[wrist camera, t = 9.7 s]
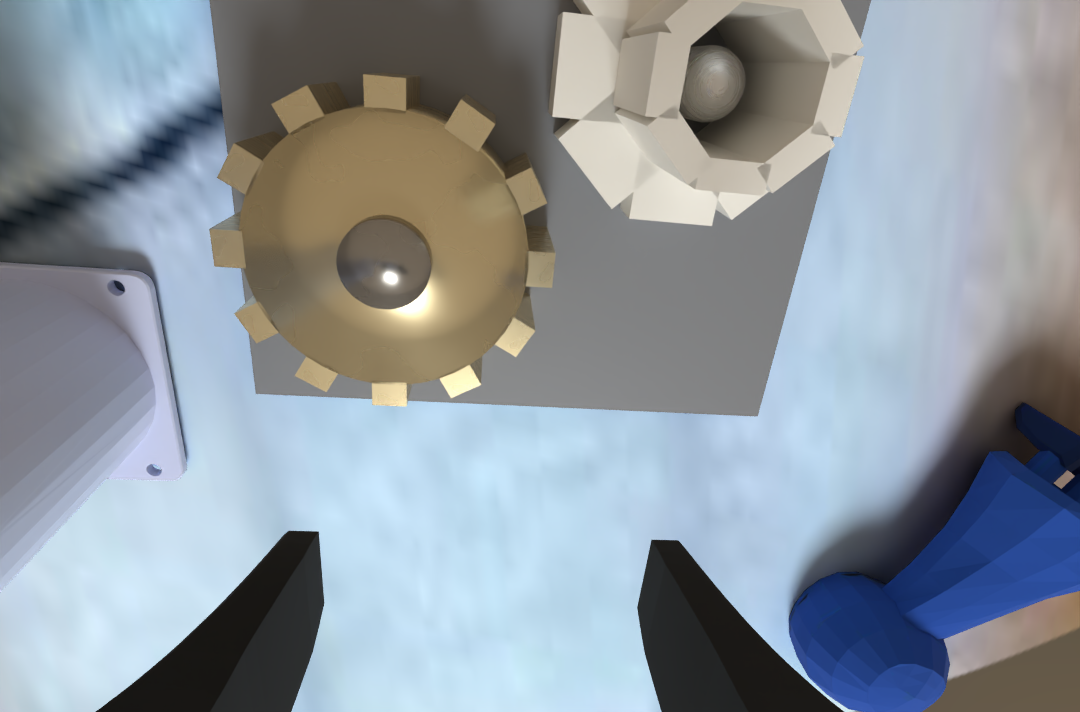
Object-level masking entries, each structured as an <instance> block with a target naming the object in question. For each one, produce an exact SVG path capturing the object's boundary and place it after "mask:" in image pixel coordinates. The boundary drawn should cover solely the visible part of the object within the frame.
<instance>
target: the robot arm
mask: <svg viewBox="0 0 1080 712" xmlns="http://www.w3.org/2000/svg"><path fill="white" fill-rule="evenodd" d="M114 280H116V281H119V282H121V283H122V284H123V286H124V288H125V292H123V291H120V290H118V289H117V288H116V286H115V284H114ZM152 464H155V465H158V466H159V467H160V468H161V470H159V469H156V468H155V467H153V465H152ZM186 470H187V463H186V457H185V452H184V446H183V441H182V435H181V429H180V424H179V418H178V413H177V407H176V402H175V396H174V391H173V385H172V380H171V374H170V369H169V363H168V358H167V352H166V346H165V341H164V335H163V330H162V324H161V319H160V313H159V308H158V302H157V297H156V291H155V286H154V284H153V281H152V280H151V279H150V277H149V276H148V275H146V274H144V273H143V272H139V271H134V270H118V269H102V268H86V267H70V266H54V265H38V264H22V263H6V262H0V592H1V591H2V590H3V589H4V588H5V587H6V586H7V585H8V584H9V583H10V582H11V581H12V580H13V579H14V577H15V576H16V575H17V574H18V573H19V572H20V571H21V570H22V569H23V568H24V567H25V566H26V565H27V564H28V562H29V561H30V560H31V559H32V558H33V557H34V556H35V555H36V554H37V553H38V552H39V551H40V550H41V549H42V548H43V546H44V545H45V544H46V543H47V542H48V541H49V540H50V539H51V538H52V537H53V536H54V535H55V534H56V533H57V532H58V530H59V529H60V528H61V527H62V526H63V525H64V524H65V523H66V522H67V521H68V520H69V519H70V518H71V517H72V516H73V514H74V513H75V512H76V511H77V510H78V509H79V508H80V507H81V506H82V505H83V504H84V503H85V502H86V501H87V500H88V498H89V497H90V496H91V495H92V494H93V493H94V492H95V491H96V490H97V489H98V488H99V487H100V486H101V485H102V484H103V482H104V481H105V480H106V479H123V480H155V481H175V480H178V479H180V478H181V477H182V476H183V474H184V473H185V472H186ZM323 606H324V595H323V582H322V570H321V557H320V544H319V532H312V531H288V532H287V533H286V534H285V535H283V537H282V538H281V539H280V540H279V541H278V542H277V543H276V545H275V546H274V547H273V548H272V549H271V550H270V551H269V553H268V554H267V555H266V556H265V557H264V558H263V559H262V561H261V562H260V563H259V564H258V565H257V566H256V567H255V568H254V569H253V570H252V572H251V573H250V574H249V575H248V576H247V577H246V578H245V579H244V580H243V581H242V582H241V583H240V584H239V586H238V587H237V588H236V589H235V590H234V591H233V592H232V593H231V594H230V595H229V596H228V597H227V598H226V599H225V600H224V601H223V602H222V603H221V604H220V605H219V606H218V607H217V608H216V609H215V610H214V611H213V612H212V613H211V614H210V615H209V616H208V617H207V618H206V619H205V620H204V621H203V622H202V623H201V624H200V625H199V626H198V627H197V628H196V629H194V630H193V631H192V632H191V633H190V634H189V635H188V636H187V637H186V638H185V639H184V640H183V641H182V642H181V643H180V644H179V645H177V646H176V647H175V648H174V649H173V650H172V651H171V652H170V653H168V654H167V655H166V656H165V657H164V658H163V659H162V660H160V661H159V662H158V663H157V664H156V665H155V666H153V667H152V668H151V669H150V670H149V671H147V672H146V673H145V674H144V675H143V676H141V677H140V678H139V679H138V680H136V681H135V682H134V683H133V684H132V685H130V686H129V687H128V688H126V689H125V690H124V691H122V692H121V693H120V694H119V695H117V696H116V697H115V698H113V699H112V700H111V701H109V702H108V703H107V704H106V705H104V706H103V707H102V708H100V709H99V710H97V711H96V712H291V711H292V708H293V705H294V702H295V700H296V697H297V694H298V691H299V689H300V686H301V683H302V680H303V677H304V675H305V672H306V669H307V666H308V664H309V661H310V658H311V655H312V652H313V648H314V644H315V640H316V636H317V632H318V628H319V624H320V619H321V615H322V611H323ZM637 609H638V615H639V621H640V628H641V634H642V640H643V645H644V651H645V655H646V659H647V663H648V666H649V670H650V673H651V677H652V680H653V684H654V687H655V691H656V694H657V697H658V701H659V704H660V708H661V711H662V712H844V711H842V710H841V709H840V708H839V707H837V706H836V705H835V704H833V703H832V702H831V701H830V700H829V699H827V698H826V697H825V696H824V695H823V694H821V693H820V692H819V691H818V690H817V689H816V688H814V687H813V686H812V685H811V684H810V683H809V682H808V681H807V680H805V679H804V678H803V677H802V676H801V675H800V674H799V673H798V672H797V671H795V670H794V669H793V668H792V667H791V666H790V665H789V664H788V663H787V662H786V661H785V660H784V659H783V658H781V657H780V656H779V655H778V654H777V653H776V652H775V651H774V650H773V649H772V648H771V647H770V646H769V645H768V644H767V643H766V642H765V640H764V639H763V638H762V637H761V636H760V635H759V634H758V633H757V632H756V631H755V630H754V629H753V628H752V627H751V626H750V625H749V624H748V623H747V621H746V620H745V619H744V618H743V617H742V616H741V615H740V614H739V612H738V611H737V610H736V609H735V608H734V607H733V606H732V604H731V603H730V602H729V601H728V600H727V599H726V598H725V596H724V595H723V594H722V593H721V592H720V591H719V589H718V588H717V587H716V586H715V585H714V583H713V582H712V581H711V580H710V579H709V577H708V576H707V575H706V574H705V572H704V571H703V570H702V569H701V568H700V566H699V565H698V564H697V563H696V561H695V560H694V559H693V558H692V556H691V555H690V554H689V553H688V551H687V550H686V549H685V548H684V547H683V545H682V544H681V543H680V542H679V541H677V540H652V541H651V545H650V550H649V555H648V560H647V564H646V569H645V574H644V579H643V583H642V588H641V593H640V598H639V602H638V607H637Z"/></svg>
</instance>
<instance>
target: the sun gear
mask: <svg viewBox="0 0 1080 712" xmlns="http://www.w3.org/2000/svg"><path fill="white" fill-rule="evenodd" d="M363 86H364V104H361V105H357V106H353V107H350V106H349V104H348V102H347V100H346V98H345V97H344V95H343V93H342V91H341V89H340V88H339V86H338V84H337V82H330V83H321V84H312V85H306V86H304V87H302V88H301V89H299V90H297V91H295V92H293V93H291V94H289V95H288V96H286V97H284V98H282V99H280V100H278V101H276V102H275V103H273V104H271V105H272V107H273V108H274V110H275V112H276V113H277V115H278V116H279V118H280V120H281V121H282V123H283V125H284V126H285V128H286V130H287V131H288V133H289V134H288V135H287V136H286V137H285V138H283V137H282V136H280V135H279V134H277V133H276V132H274V131H272V132H269V133H266V134H262V135H259V136H256V137H252V138H249V139H246V140H242V141H239V142H236V143H234V144H233V146H232V148H231V150H230V152H229V154H228V156H227V158H226V160H225V162H224V165H223V167H222V169H221V171H220V173H219V175H218V177H217V178H218V179H220V180H222V181H223V182H225V183H227V184H228V185H230V186H232V187H233V188H235V189H237V190H238V191H240V192H242V193H243V194H245V197H244V202H243V206H242V210H241V211H240V212H238V213H236V214H235V215H233V216H231V217H229V218H228V219H226V220H224V221H222V222H221V223H219V224H217V225H215V226H214V227H212V228H210V229H209V230H210V237H211V244H212V252H213V259H214V266H216V267H232V268H243V269H244V272H245V275H246V278H247V281H248V284H249V287H250V289H251V291H252V293H253V296H252V297H251V298H250V299H249V300H248V301H247V302H246V303H245V304H244V305H243V306H242V307H241V308H240V309H239V310H238V311H237V312H235V313H234V314H235V315H236V317H237V318H238V319H239V321H240V322H241V323H242V325H243V326H244V327H245V329H246V330H247V331H248V333H249V334H250V335H251V337H252V338H253V339H254V341H255V342H256V343H258V342H261V341H263V340H265V339H267V338H269V337H271V336H273V335H275V334H277V333H280V334H281V335H282V336H283V337H284V338H285V339H286V340H287V341H288V342H289V343H290V344H291V345H292V346H293V347H294V348H296V349H297V350H298V351H300V352H301V353H302V354H304V355H305V356H306V358H305V359H304V361H303V363H302V364H301V366H300V368H299V369H298V371H297V373H296V374H295V376H296V377H298V378H300V379H302V380H304V381H306V382H307V383H309V384H311V385H313V386H315V387H317V388H319V389H321V390H323V391H325V392H327V391H328V389H329V388H330V386H331V384H332V383H333V381H334V380H335V378H336V376H337V375H338V374H340V375H343V376H346V377H349V378H352V379H355V380H360V381H365V382H369V383H372V405H386V406H407V403H408V399H409V395H410V391H411V387H412V384H416V383H424V382H428V381H432V380H436V379H440V381H441V382H442V384H443V385H444V387H445V389H446V390H447V392H448V394H449V395H450V397H451V398H453V397H455V396H457V395H459V394H462V393H464V392H466V391H468V390H471V389H473V388H475V387H477V386H479V385H481V376H482V356H483V355H484V354H485V353H486V352H487V351H488V350H489V349H490V348H492V347H493V346H494V345H497V346H498V347H500V348H502V349H503V350H505V351H507V352H508V353H510V354H512V355H513V356H515V357H516V356H517V355H518V354H519V352H520V351H521V350H522V348H523V347H524V346H525V344H526V343H527V341H528V340H529V339H530V337H531V336H532V335H533V333H534V332H535V324H534V318H533V311H532V304H531V298H530V295H529V294H527V293H525V292H524V291H525V288H526V286H529V287H545V288H552V284H553V274H554V264H555V255H556V253H555V249H554V246H553V243H552V240H551V237H550V234H549V231H548V227H542V226H529V225H525V222H524V216H523V215H524V214H526V213H528V212H530V211H532V210H534V209H536V208H538V207H540V206H543V205H545V204H547V201H546V198H545V196H544V193H543V190H542V188H541V185H540V183H539V180H538V178H537V176H536V174H535V172H534V169H533V167H532V165H531V163H530V161H529V158H528V156H527V154H526V153H524V154H522V155H520V156H518V157H516V158H514V159H512V160H510V161H508V162H506V163H503V162H502V160H501V159H500V158H499V156H498V155H497V153H496V152H495V151H494V149H493V148H492V147H491V146H490V145H489V144H488V143H487V142H486V141H485V140H486V139H487V137H488V135H489V134H490V132H491V131H492V129H493V127H494V126H495V124H496V119H495V115H494V114H493V113H492V112H490V111H489V110H488V109H486V108H485V107H483V106H482V105H481V104H479V103H478V102H477V101H475V100H474V99H473V98H471V97H470V96H468V95H467V94H466V95H465V96H464V97H463V98H462V99H461V100H460V102H459V103H458V105H457V107H456V108H455V110H454V112H453V113H452V115H449V114H446V113H444V112H442V111H440V110H437V109H435V108H431V107H428V106H425V105H421V104H420V76H414V75H403V74H393V73H372V74H363Z"/></svg>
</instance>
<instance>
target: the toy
mask: <svg viewBox="0 0 1080 712" xmlns="http://www.w3.org/2000/svg"><path fill="white" fill-rule="evenodd" d="M1015 416H1016V424H1017V428H1018V429H1019V430H1020V431H1021V432H1022V433H1023V434H1024V435H1025V436H1026V437H1027V438H1028V439H1029V441H1030V442H1031V443H1032V444H1033V445H1034V446H1035V447H1036V448H1037V449H1039V450H1040V451H1039V452H1038V453H1037V454H1036V455H1035V456H1034V457H1033V458H1032V459H1031V460H1030V461H1029V462H1028V463H1027V464H1026V465H1023V464H1022V463H1021V462H1019V461H1018V460H1017V459H1016V458H1014V457H1013V456H1012V455H1011V454H1010V453H1009V452H1007V451H993V452H989V454H988V455H987V457H986V459H985V461H984V463H983V465H982V467H981V468H980V470H979V472H978V474H977V476H976V478H975V479H974V481H973V483H972V485H971V487H970V489H969V491H968V492H967V494H966V495H965V497H964V498H963V500H962V501H961V503H960V504H959V506H958V507H957V509H956V510H955V512H954V513H953V515H952V516H951V518H950V519H949V521H948V522H947V524H946V525H945V526H944V528H943V529H942V530H941V531H940V532H939V533H938V534H937V535H936V536H935V537H934V538H933V539H932V541H931V542H930V543H929V544H928V545H927V546H926V547H925V548H924V549H923V550H922V551H921V552H920V554H919V555H918V556H917V557H916V558H915V559H914V560H913V561H912V562H911V563H910V564H909V565H908V566H907V567H905V568H904V569H903V570H902V571H901V572H900V573H899V574H898V575H896V576H895V577H894V578H893V579H892V580H891V581H890V582H889V583H887V584H884V583H883V582H880V581H878V580H875V579H873V578H871V577H868V576H866V575H863V574H861V573H859V572H838V573H835V574H832V575H830V576H827V577H824V578H822V579H820V580H818V581H817V582H816V583H814V584H813V585H811V586H810V587H809V588H807V589H806V590H805V591H804V592H803V594H802V595H801V596H800V598H799V599H798V600H797V602H796V603H795V605H794V607H793V610H792V612H791V615H790V617H789V632H790V638H791V641H792V643H793V646H794V649H795V652H796V655H797V657H798V659H799V661H800V663H801V664H802V666H803V668H804V670H805V671H806V673H807V675H808V677H809V678H810V679H811V680H812V681H813V682H814V683H815V684H817V685H818V686H819V687H820V688H821V689H822V690H823V691H824V692H825V693H826V694H827V695H829V696H830V697H832V698H833V699H834V700H836V701H837V702H839V703H840V704H842V705H843V706H845V707H846V708H848V709H851V710H857V711H862V712H922V711H923V710H925V709H926V708H928V707H929V706H930V705H932V704H933V703H935V701H936V700H937V699H938V698H939V697H940V696H941V695H942V694H943V692H944V690H945V688H946V683H947V677H948V672H949V666H950V662H949V657H948V653H947V648H946V645H945V642H944V640H943V639H945V638H948V637H950V636H953V635H955V634H958V633H960V632H963V631H965V630H968V629H970V628H973V627H975V626H978V625H980V624H983V623H985V622H988V621H990V620H993V619H996V618H998V617H1001V616H1003V615H1006V614H1009V613H1011V612H1014V611H1016V610H1019V609H1021V608H1024V607H1027V606H1029V605H1032V604H1034V603H1037V602H1040V601H1042V600H1045V599H1048V598H1052V597H1056V596H1060V595H1064V594H1068V593H1073V592H1077V591H1080V436H1079V435H1077V434H1075V433H1074V432H1072V431H1070V430H1069V429H1067V428H1065V427H1064V426H1062V425H1060V424H1059V423H1057V422H1055V421H1054V420H1052V419H1051V418H1049V417H1047V416H1046V415H1044V414H1042V413H1041V412H1039V411H1037V410H1036V409H1034V408H1032V407H1031V406H1029V405H1027V404H1026V403H1022V404H1021V405H1020V406H1019V407H1018V408H1017V409H1016V410H1015ZM1067 470H1068V471H1070V472H1072V474H1073V475H1075V477H1074V478H1073V479H1072V480H1071V481H1070V482H1068V483H1067V484H1066V485H1065V486H1064V487H1063V488H1062V489H1060V488H1059V487H1058V486H1056V485H1055V484H1053V483H1054V482H1055V481H1056V480H1057V479H1058V478H1059V477H1060V476H1061V475H1063V474H1064V473H1065V472H1066V471H1067Z"/></svg>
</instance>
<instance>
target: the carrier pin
mask: <svg viewBox="0 0 1080 712" xmlns="http://www.w3.org/2000/svg"><path fill="white" fill-rule="evenodd" d="M744 88H745V72H744V68H743V65H742V63H741V61H740V60H739V58H738V57H737V56H736V55H735V54H734V53H733V52H732V51H730V50H729V49H727V48H725V47H722V46H717V45H706V46H695V47H690V53H689V58H688V64H687V69H686V74H685V80H684V85H683V91H682V96H681V102H680V107H679V112H680V113H681V115H682V116H683V118H686V119H690V120H693V121H697V122H713V121H716V120H719V119H721V118H723V117H725V116H726V115H728V114H729V113H730V112H731V111H732V110H733V109H734V108H735V107H736V106H737V104H738V103H739V101H740V99H741V97H742V95H743V92H744Z"/></svg>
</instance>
